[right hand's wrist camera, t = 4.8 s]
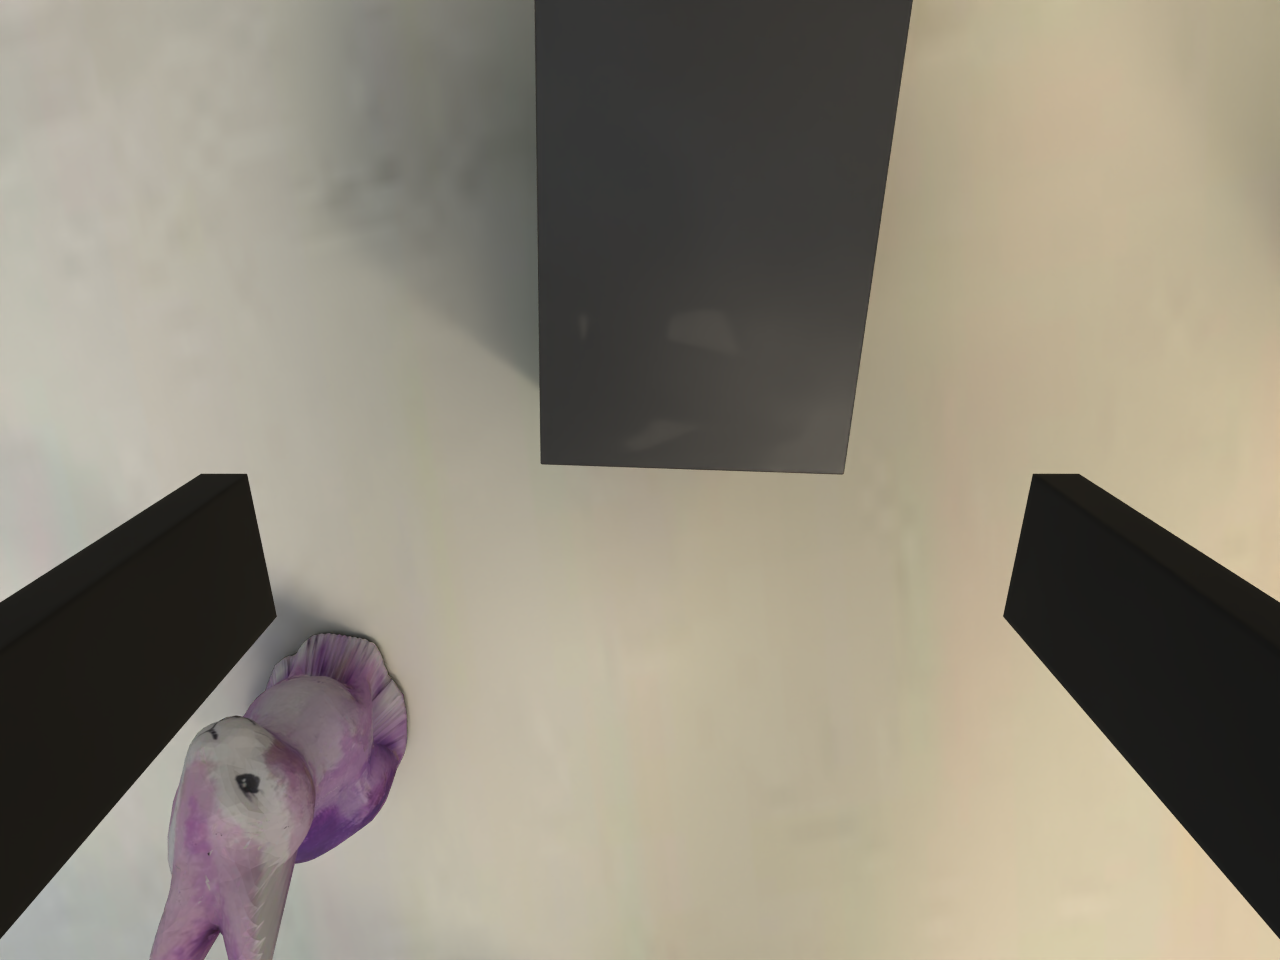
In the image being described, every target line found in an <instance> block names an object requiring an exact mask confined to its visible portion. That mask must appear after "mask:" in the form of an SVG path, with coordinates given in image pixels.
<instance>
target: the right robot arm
mask: <svg viewBox="0 0 1280 960" xmlns="http://www.w3.org/2000/svg"><path fill="white" fill-rule="evenodd" d="M276 617H277V615H276V610H275V605H274V601H273V596H272V591H271V586H270V581H269V577H268V572H267V567H266V562H265V558H264V553H263V548H262V543H261V538H260V534H259V529H258V524H257V519H256V515H255V510H254V505H253V500H252V495H251V491H250V486H249V481H248V476H247V474H200V475H199V476H197V477H195V478H194V479H192V480H191V481H189V482H188V483H186V484H185V485H183V486H181V487H180V488H178V489H177V490H175V491H174V492H172V493H171V494H169V495H167V496H166V497H164V498H163V499H161V500H160V501H158V502H156V503H155V504H153V505H152V506H150V507H149V508H147V509H146V510H144V511H142V512H141V513H139V514H138V515H136V516H135V517H133V518H131V519H130V520H128V521H127V522H125V523H124V524H122V525H121V526H119V527H117V528H116V529H114V530H113V531H111V532H110V533H108V534H106V535H105V536H103V537H102V538H100V539H99V540H97V541H96V542H94V543H92V544H91V545H89V546H88V547H86V548H85V549H83V550H82V551H80V552H78V553H77V554H75V555H74V556H72V557H71V558H69V559H67V560H66V561H64V562H63V563H61V564H60V565H58V566H57V567H55V568H53V569H52V570H50V571H49V572H47V573H46V574H44V575H42V576H41V577H39V578H38V579H36V580H35V581H33V582H32V583H30V584H28V585H27V586H25V587H24V588H22V589H21V590H19V591H17V592H16V593H14V594H13V595H11V596H10V597H8V598H7V599H5V600H3V601H2V602H0V939H1V938H2V936H3V935H4V934H5V933H6V932H7V931H8V929H9V928H10V927H11V926H12V925H13V924H14V922H15V921H16V920H17V919H18V918H19V917H20V915H21V914H22V913H23V912H24V911H25V910H26V908H27V907H28V906H29V905H30V904H31V903H32V901H33V900H34V899H35V898H36V897H37V896H38V894H39V893H40V892H41V891H42V890H43V889H44V887H45V886H46V885H47V884H48V883H49V882H50V880H51V879H52V878H53V877H54V876H55V875H56V873H57V872H58V871H59V870H60V869H61V868H62V866H63V865H64V864H65V863H66V862H67V861H68V859H69V858H70V857H71V856H72V855H73V854H74V852H75V851H76V850H77V849H78V848H79V847H80V845H81V844H82V843H83V842H84V841H85V840H86V838H87V837H88V836H89V835H90V834H91V833H92V831H93V830H94V829H95V828H96V827H97V826H98V824H99V823H100V822H101V821H102V820H103V819H104V817H105V816H106V815H107V814H108V813H109V812H110V810H111V809H112V808H113V807H114V806H115V805H116V803H117V802H118V801H119V800H120V799H121V798H122V796H123V795H124V794H125V793H126V792H127V791H128V789H129V788H130V787H131V786H132V785H133V784H134V782H135V781H136V780H137V779H138V778H139V777H140V775H141V774H142V773H143V772H144V771H145V770H146V768H147V767H148V766H149V765H150V764H151V763H152V761H153V760H154V759H155V758H156V757H157V756H158V754H159V753H160V752H161V751H162V750H163V749H164V747H165V746H166V745H167V744H168V743H169V742H170V740H171V739H172V738H173V737H174V736H175V735H176V733H177V732H178V731H179V730H180V729H181V728H182V726H183V725H184V724H185V723H186V722H187V721H188V719H189V718H190V717H191V716H192V715H193V714H194V712H195V711H196V710H197V709H198V708H199V707H200V705H201V704H202V703H203V702H204V701H205V700H206V698H207V697H208V696H209V695H210V694H211V693H212V691H213V690H214V689H215V688H216V687H217V686H218V684H219V683H220V682H221V681H222V680H223V679H224V677H225V676H226V675H227V674H228V673H229V672H230V670H231V669H232V668H233V667H234V666H235V665H236V663H237V662H238V661H239V660H240V659H241V658H242V656H243V655H244V654H245V653H246V652H247V651H248V649H249V648H250V647H251V646H252V645H253V644H254V642H255V641H256V640H257V639H258V638H259V637H260V635H261V634H262V633H263V632H264V631H265V630H266V628H267V627H268V626H269V625H270V624H271V623H272V621H273V620H274V619H275V618H276ZM1003 617H1004V618H1005V619H1006V620H1007V621H1008V623H1009V624H1010V625H1011V626H1012V627H1013V628H1014V630H1015V631H1016V632H1017V633H1018V634H1019V635H1020V637H1021V638H1022V639H1023V640H1024V641H1025V642H1026V644H1027V645H1028V646H1029V647H1030V648H1031V649H1032V651H1033V652H1034V653H1035V654H1036V655H1037V656H1038V658H1039V659H1040V660H1041V661H1042V662H1043V663H1044V665H1045V666H1046V667H1047V668H1048V669H1049V670H1050V672H1051V673H1052V674H1053V675H1054V676H1055V677H1056V679H1057V680H1058V681H1059V682H1060V683H1061V684H1062V686H1063V687H1064V688H1065V689H1066V690H1067V691H1068V693H1069V694H1070V695H1071V696H1072V697H1073V698H1074V700H1075V701H1076V702H1077V703H1078V704H1079V705H1080V707H1081V708H1082V709H1083V710H1084V711H1085V712H1086V714H1087V715H1088V716H1089V717H1090V718H1091V719H1092V721H1093V722H1094V723H1095V724H1096V725H1097V726H1098V728H1099V729H1100V730H1101V731H1102V732H1103V733H1104V735H1105V736H1106V737H1107V738H1108V739H1109V740H1110V742H1111V743H1112V744H1113V745H1114V746H1115V747H1116V749H1117V750H1118V751H1119V752H1120V753H1121V754H1122V756H1123V757H1124V758H1125V759H1126V760H1127V761H1128V763H1129V764H1130V765H1131V766H1132V767H1133V768H1134V770H1135V771H1136V772H1137V773H1138V774H1139V775H1140V777H1141V778H1142V779H1143V780H1144V781H1145V782H1146V784H1147V785H1148V786H1149V787H1150V788H1151V789H1152V791H1153V792H1154V793H1155V794H1156V795H1157V796H1158V798H1159V799H1160V800H1161V801H1162V802H1163V803H1164V805H1165V806H1166V807H1167V808H1168V809H1169V810H1170V812H1171V813H1172V814H1173V815H1174V816H1175V817H1176V819H1177V820H1178V821H1179V822H1180V823H1181V824H1182V826H1183V827H1184V828H1185V829H1186V830H1187V831H1188V833H1189V834H1190V835H1191V836H1192V837H1193V838H1194V840H1195V841H1196V842H1197V843H1198V844H1199V845H1200V847H1201V848H1202V849H1203V850H1204V851H1205V852H1206V854H1207V855H1208V856H1209V857H1210V858H1211V859H1212V861H1213V862H1214V863H1215V864H1216V865H1217V866H1218V868H1219V869H1220V870H1221V871H1222V872H1223V873H1224V875H1225V876H1226V877H1227V878H1228V879H1229V880H1230V882H1231V883H1232V884H1233V885H1234V886H1235V887H1236V889H1237V890H1238V891H1239V892H1240V893H1241V894H1242V896H1243V897H1244V898H1245V899H1246V900H1247V901H1248V903H1249V904H1250V905H1251V906H1252V907H1253V908H1254V910H1255V911H1256V912H1257V913H1258V914H1259V915H1260V917H1261V918H1262V919H1263V920H1264V921H1265V922H1266V924H1267V925H1268V926H1269V927H1270V928H1271V929H1272V931H1273V932H1274V933H1275V934H1276V935H1277V936H1278V938H1279V939H1280V602H1278V601H1277V600H1275V599H1273V598H1272V597H1270V596H1269V595H1267V594H1266V593H1264V592H1263V591H1261V590H1259V589H1258V588H1256V587H1255V586H1253V585H1252V584H1250V583H1248V582H1247V581H1245V580H1244V579H1242V578H1241V577H1239V576H1238V575H1236V574H1234V573H1233V572H1231V571H1230V570H1228V569H1227V568H1225V567H1223V566H1222V565H1220V564H1219V563H1217V562H1216V561H1214V560H1213V559H1211V558H1209V557H1208V556H1206V555H1205V554H1203V553H1202V552H1200V551H1198V550H1197V549H1195V548H1194V547H1192V546H1191V545H1189V544H1188V543H1186V542H1184V541H1183V540H1181V539H1180V538H1178V537H1177V536H1175V535H1174V534H1172V533H1170V532H1169V531H1167V530H1166V529H1164V528H1163V527H1161V526H1159V525H1158V524H1156V523H1155V522H1153V521H1152V520H1150V519H1149V518H1147V517H1145V516H1144V515H1142V514H1141V513H1139V512H1138V511H1136V510H1134V509H1133V508H1131V507H1130V506H1128V505H1127V504H1125V503H1124V502H1122V501H1120V500H1119V499H1117V498H1116V497H1114V496H1113V495H1111V494H1109V493H1108V492H1106V491H1105V490H1103V489H1102V488H1100V487H1099V486H1097V485H1095V484H1094V483H1092V482H1091V481H1089V480H1088V479H1086V478H1085V477H1083V476H1081V475H1080V474H1033V476H1032V481H1031V486H1030V491H1029V495H1028V500H1027V505H1026V510H1025V514H1024V519H1023V524H1022V529H1021V534H1020V538H1019V543H1018V548H1017V553H1016V558H1015V562H1014V567H1013V572H1012V577H1011V581H1010V586H1009V591H1008V596H1007V601H1006V605H1005V610H1004V615H1003Z"/></svg>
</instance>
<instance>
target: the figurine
mask: <svg viewBox="0 0 1280 960" xmlns="http://www.w3.org/2000/svg"><path fill="white" fill-rule="evenodd" d="M403 697H404V695H403V694H402V692H401V691H400V690H399V688H398V687H397V685H396V683H395V682H394V681H393V680H392V678H391V677H390V676H389V675H388V673H387V670H386V668H385V665H384V661H383V659H382V655H381V653H380V651H379V650H378V648H377V647H376V645H375V644H374V643H373V642H369V641H367V640H366V639H361V638H356V637H353V638H352V637H351V636H348V637H347V636H345V635H344V636H341V635H340V634H339V635H336V634H330V633H327V634H322V633H321V634H319V635H313V636H311V637H310V638H308V639H307V640H306V641H305V642H304V643H303V644H302V646H301V647H300V648H299V650H298V651H297V654H295V655H293V656H291V655H289V656H287V657H285V658H283V659H282V660H281V661H280V662H279V663H277V664H276V665H275V667H274V669H273V671H272V674H271V676H270V679H269V682H268V684H267V687H266V690H265V692H263V693H262V694H261V695H260V696H258V697H257V698H256V699H255V700H254V702H253V703H252V704H251V705H250V706H249V708H248V710H247V712H246V713H245V715H244V716H243V717H241V716H231V717H226V718H224V719H222V720H220V721H219V722H216V723H213V724H210V725H209V726H207V727H205V728H203V729H202V730H201V731H200V732H198V733H197V735H196V736H195V738H194V739H193V741H192V742H191V744H190V746H189V749H188V752H187V755H186V758H185V762H184V767H183V772H182V775H181V779H180V783H179V786H178V789H177V792H176V795H175V798H174V801H173V807H172V813H171V819H170V825H169V832H168V862H169V866H170V870H171V874H172V879H171V887H170V891H169V896H168V899H167V902H166V905H165V908H164V912H163V915H162V917H161V920H160V924H159V927H158V930H157V933H156V936H155V941H154V943H153V947H152V950H151V954H150V959H149V960H204V958H205V957H206V955H207V953H208V952H209V950H210V948H211V947H212V945H213V943H214V942H215V940H216V938H217V937H218V935H219V933H221V934H222V935H223V938H224V942H225V947H226V951H227V955H228V959H229V960H272V958H273V954H274V950H275V945H276V941H277V937H278V932H279V928H280V924H281V920H282V915H283V911H284V907H285V903H286V898H287V894H288V890H289V885H290V881H291V877H292V873H293V868H294V864H296V863H302V862H306V861H310V860H312V859H315V858H317V857H319V856H320V855H322V854H324V853H326V852H328V851H329V850H331V849H333V848H334V847H336V846H337V845H339V844H340V843H342V842H343V841H345V840H346V839H347V838H349V837H350V836H352V835H353V834H355V833H356V832H357V831H359V830H360V829H362V828H363V827H364V826H365V825H367V824H368V823H369V822H371V821H372V820H373V819H374V817H375V816H376V815H377V813H378V812H379V811H380V809H381V808H382V806H383V805H384V803H385V801H386V799H387V797H388V794H389V791H390V788H391V786H392V783H393V779H394V776H395V773H396V770H397V768H398V766H399V764H400V762H401V760H402V758H403V755H404V753H405V749H406V743H407V712H406V708H405V703H404V698H403Z"/></svg>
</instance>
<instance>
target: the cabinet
mask: <svg viewBox="0 0 1280 960" xmlns="http://www.w3.org/2000/svg"><path fill="white" fill-rule="evenodd" d="M912 2H913V0H535V65H536V142H537V218H538V295H539V372H540V449H541V464H549V465H579V466H608V467H637V468H667V469H696V470H726V471H755V472H785V473H814V474H844V469H845V462H846V455H847V448H848V441H849V434H850V427H851V420H852V414H853V407H854V400H855V393H856V386H857V379H858V372H859V366H860V359H861V352H862V345H863V338H864V331H865V324H866V317H867V311H868V304H869V297H870V290H871V283H872V276H873V269H874V263H875V256H876V249H877V242H878V235H879V228H880V221H881V214H882V208H883V201H884V194H885V187H886V180H887V173H888V166H889V159H890V153H891V146H892V139H893V132H894V125H895V118H896V111H897V105H898V98H899V91H900V84H901V77H902V70H903V63H904V56H905V50H906V43H907V36H908V29H909V22H910V15H911V8H912Z"/></svg>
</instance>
